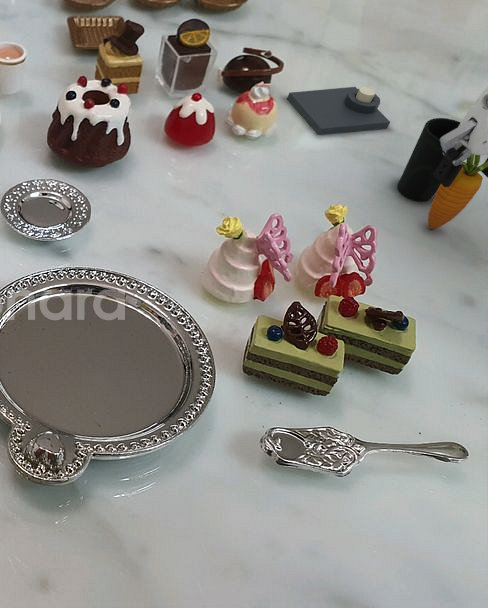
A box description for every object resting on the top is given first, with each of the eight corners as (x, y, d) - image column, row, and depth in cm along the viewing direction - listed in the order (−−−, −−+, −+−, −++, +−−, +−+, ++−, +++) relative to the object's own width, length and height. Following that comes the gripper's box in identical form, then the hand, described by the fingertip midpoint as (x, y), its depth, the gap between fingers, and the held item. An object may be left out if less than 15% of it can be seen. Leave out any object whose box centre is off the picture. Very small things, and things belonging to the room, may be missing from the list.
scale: (353, 92, 147) (360, 79, 145) (388, 128, 140) (396, 114, 137) (286, 98, 145) (292, 85, 143) (318, 135, 138) (324, 121, 135)
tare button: (366, 94, 142) (370, 86, 141) (374, 102, 140) (378, 94, 139) (352, 95, 142) (356, 87, 141) (360, 103, 140) (364, 95, 139)
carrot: (453, 231, 121) (507, 155, 109) (436, 243, 119) (489, 167, 107) (425, 214, 123) (475, 138, 112) (407, 225, 121) (456, 149, 110)
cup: (429, 212, 124) (469, 152, 115) (383, 191, 127) (418, 131, 118) (445, 190, 127) (484, 131, 119) (400, 171, 131) (435, 111, 122)
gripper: (496, 94, 97) (427, 200, 110) (612, 83, 99) (531, 188, 112) (459, 63, 101) (398, 169, 115) (571, 54, 104) (498, 158, 117)
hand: (464, 178), depth 113 cm, fingers open, 7 cm apart
